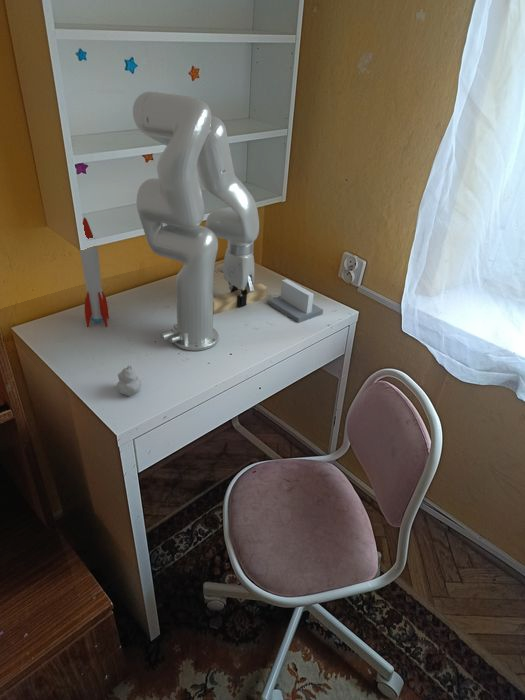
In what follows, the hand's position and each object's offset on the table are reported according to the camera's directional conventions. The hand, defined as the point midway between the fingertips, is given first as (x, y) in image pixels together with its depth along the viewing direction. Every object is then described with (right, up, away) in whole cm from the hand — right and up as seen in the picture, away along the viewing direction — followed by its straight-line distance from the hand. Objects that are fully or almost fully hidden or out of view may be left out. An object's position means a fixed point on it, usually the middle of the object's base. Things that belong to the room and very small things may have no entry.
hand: (238, 303), depth 155 cm
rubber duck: (-23, -24, -39) cm, 51 cm away
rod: (0, 0, 0) cm, 0 cm away
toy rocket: (-39, -7, -14) cm, 42 cm away
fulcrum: (+18, -2, 0) cm, 18 cm away
